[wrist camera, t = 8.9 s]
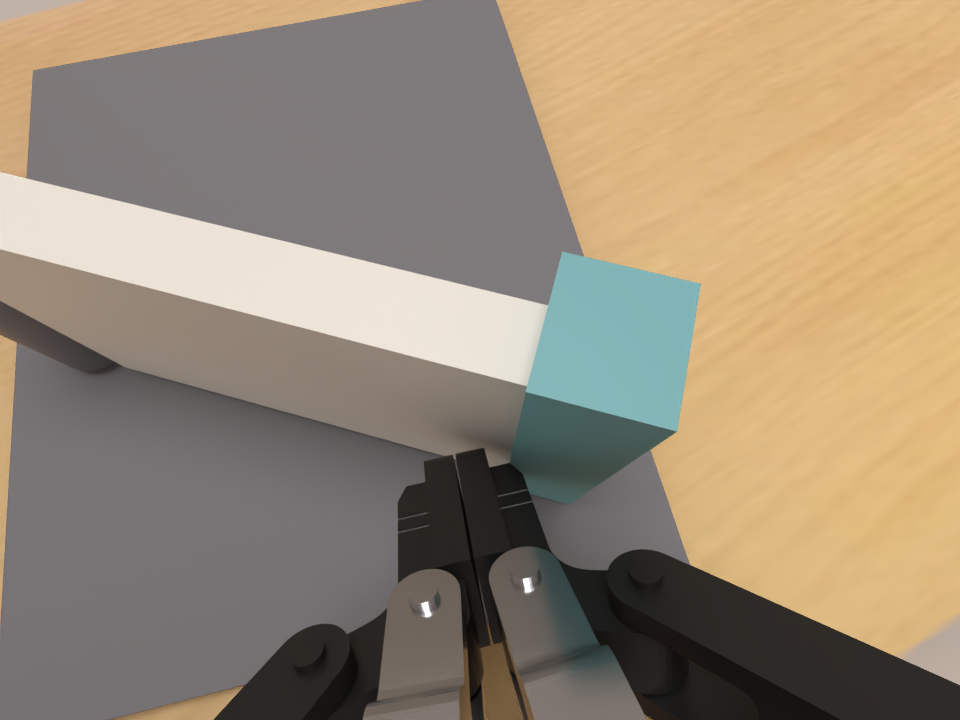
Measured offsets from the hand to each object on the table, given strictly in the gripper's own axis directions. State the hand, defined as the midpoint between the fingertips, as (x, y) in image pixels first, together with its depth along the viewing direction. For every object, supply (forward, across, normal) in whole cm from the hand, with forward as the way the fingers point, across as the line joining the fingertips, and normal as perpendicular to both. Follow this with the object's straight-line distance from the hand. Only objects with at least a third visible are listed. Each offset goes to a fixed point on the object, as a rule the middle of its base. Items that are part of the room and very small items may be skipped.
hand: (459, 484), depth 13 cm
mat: (+10, +4, -3) cm, 11 cm away
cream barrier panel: (+5, +4, -1) cm, 7 cm away
